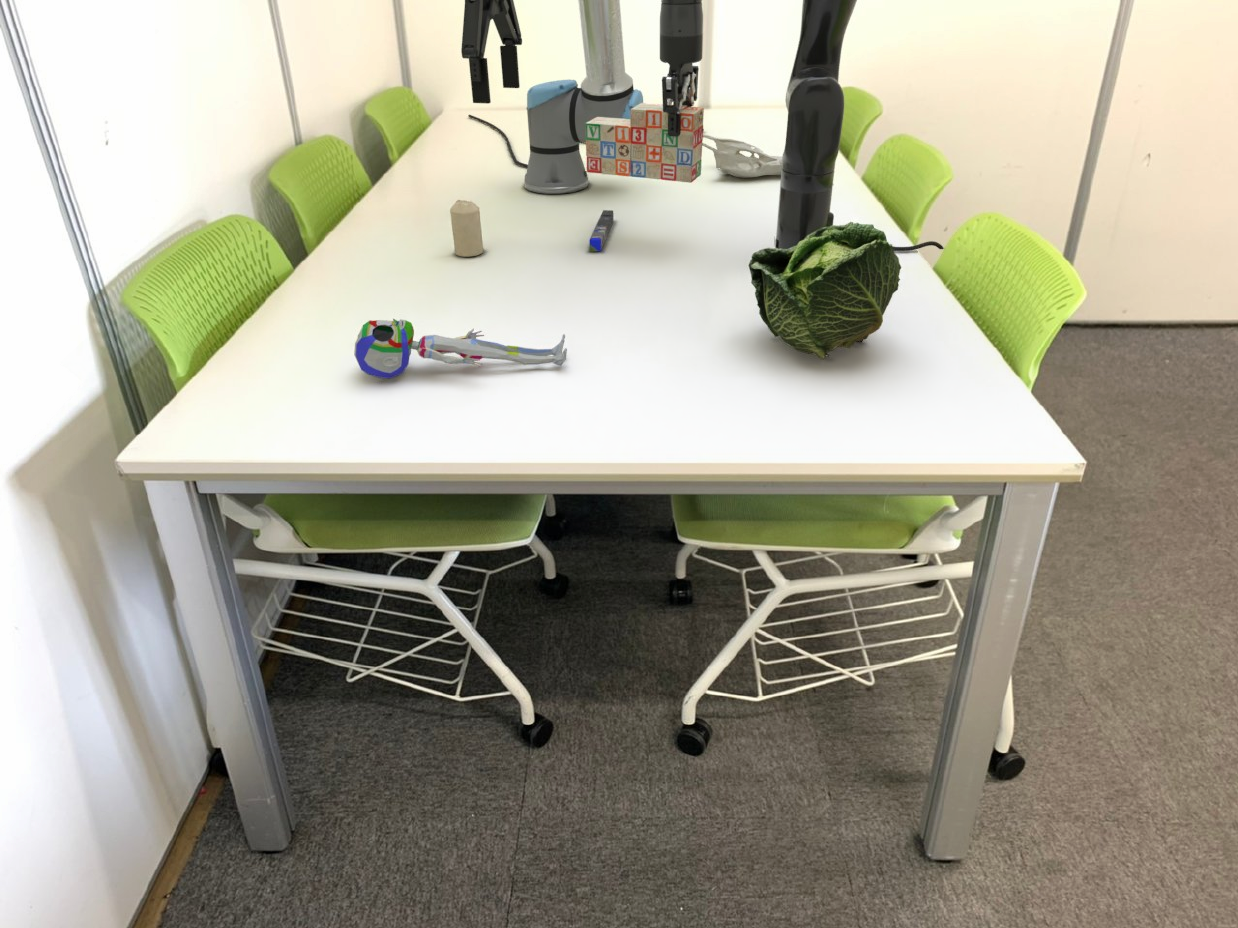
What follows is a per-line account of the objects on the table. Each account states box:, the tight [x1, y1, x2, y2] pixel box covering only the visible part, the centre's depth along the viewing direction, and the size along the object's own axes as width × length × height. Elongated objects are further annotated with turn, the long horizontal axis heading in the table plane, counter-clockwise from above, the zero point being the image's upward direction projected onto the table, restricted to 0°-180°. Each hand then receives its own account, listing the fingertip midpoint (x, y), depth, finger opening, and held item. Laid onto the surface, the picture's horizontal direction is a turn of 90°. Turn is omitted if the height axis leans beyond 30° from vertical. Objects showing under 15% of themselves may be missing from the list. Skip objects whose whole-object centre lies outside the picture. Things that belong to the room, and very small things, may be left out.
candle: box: [449, 199, 484, 258], centre depth 172 cm, size 6×6×10 cm
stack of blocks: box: [585, 102, 705, 184], centre depth 168 cm, size 21×6×12 cm, turn 68°
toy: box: [353, 318, 568, 379], centre depth 130 cm, size 10×8×30 cm
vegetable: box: [748, 221, 902, 360], centre depth 132 cm, size 20×19×20 cm
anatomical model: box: [702, 133, 783, 178], centre depth 218 cm, size 15×9×25 cm
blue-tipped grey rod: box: [588, 209, 615, 252], centre depth 182 cm, size 2×2×20 cm
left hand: (497, 95), depth 148 cm, fingers open, 13 cm apart
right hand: (680, 131), depth 165 cm, fingers closed on stack of blocks, 6 cm apart
